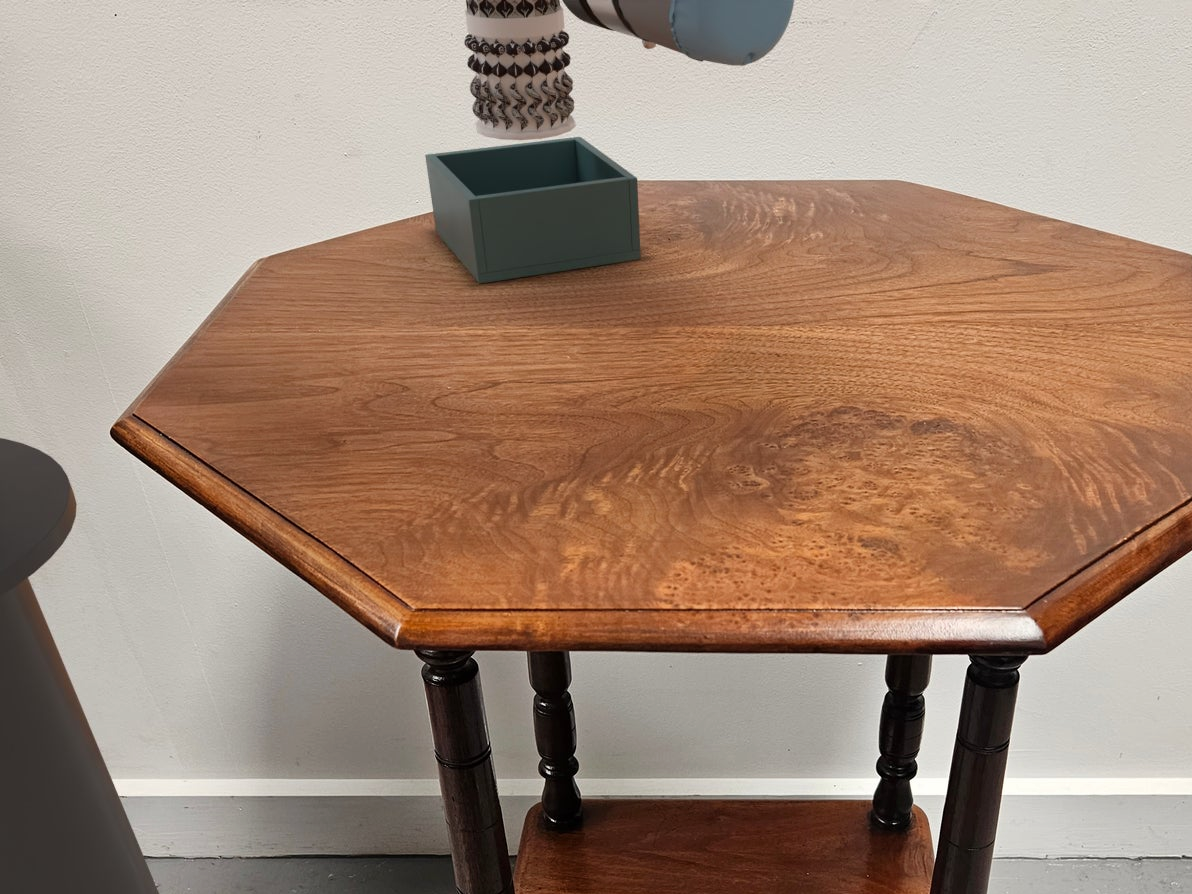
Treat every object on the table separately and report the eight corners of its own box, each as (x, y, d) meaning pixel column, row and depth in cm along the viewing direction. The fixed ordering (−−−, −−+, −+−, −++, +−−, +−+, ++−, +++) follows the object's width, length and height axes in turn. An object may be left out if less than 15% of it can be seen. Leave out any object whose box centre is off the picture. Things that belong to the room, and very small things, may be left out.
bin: (479, 284, 105) (468, 199, 101) (436, 232, 115) (424, 154, 111) (641, 259, 110) (637, 177, 105) (585, 212, 120) (580, 136, 116)
